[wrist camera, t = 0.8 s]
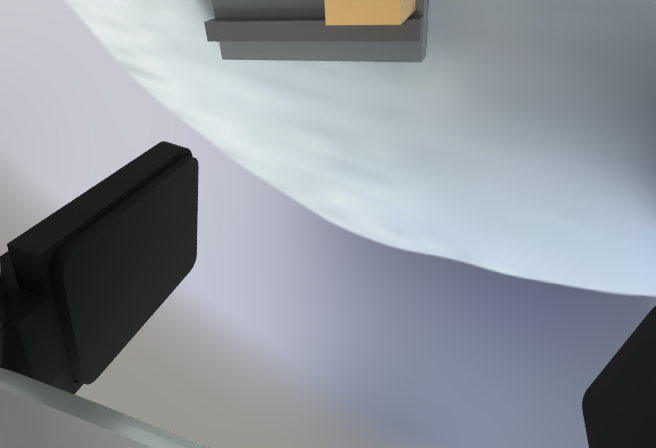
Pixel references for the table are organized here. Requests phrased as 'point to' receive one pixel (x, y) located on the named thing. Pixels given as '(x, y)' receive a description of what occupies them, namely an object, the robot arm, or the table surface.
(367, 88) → the table surface
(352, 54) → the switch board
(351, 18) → the tan orange cube block
